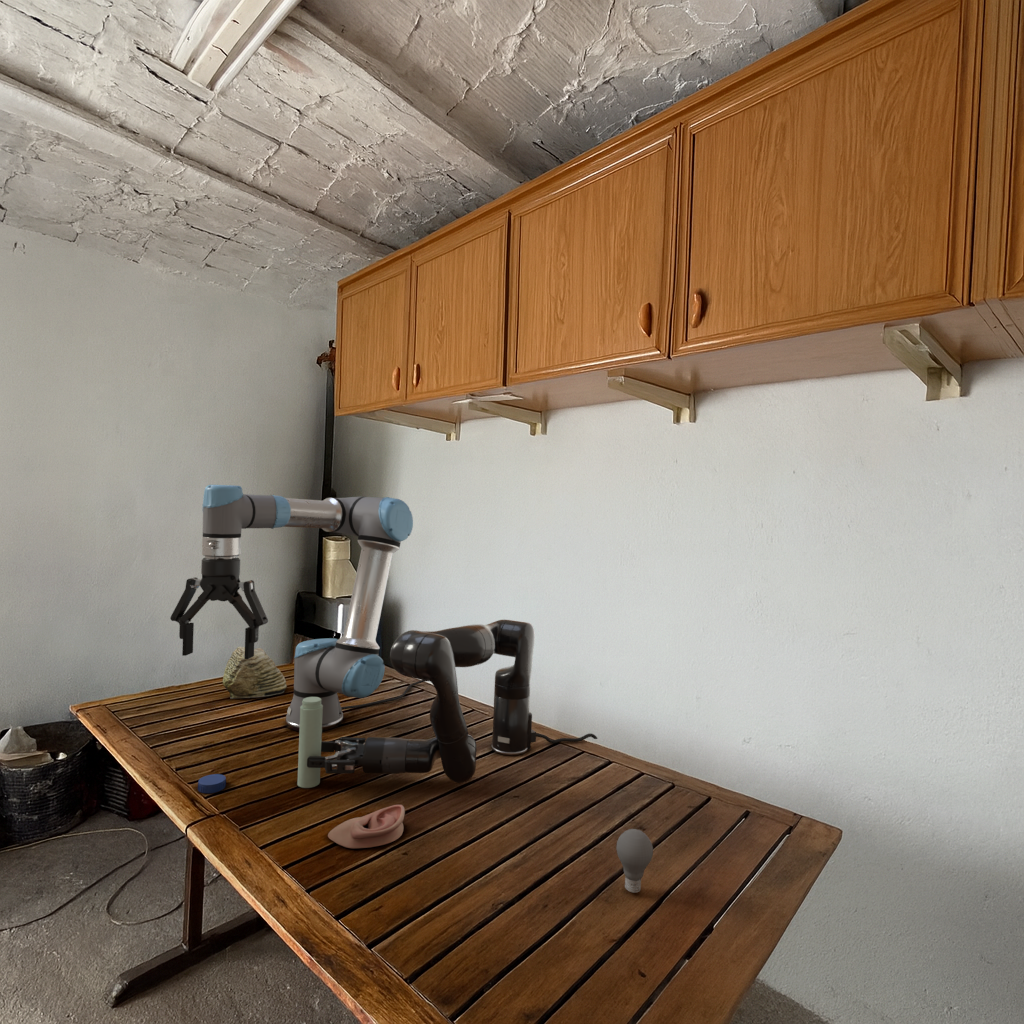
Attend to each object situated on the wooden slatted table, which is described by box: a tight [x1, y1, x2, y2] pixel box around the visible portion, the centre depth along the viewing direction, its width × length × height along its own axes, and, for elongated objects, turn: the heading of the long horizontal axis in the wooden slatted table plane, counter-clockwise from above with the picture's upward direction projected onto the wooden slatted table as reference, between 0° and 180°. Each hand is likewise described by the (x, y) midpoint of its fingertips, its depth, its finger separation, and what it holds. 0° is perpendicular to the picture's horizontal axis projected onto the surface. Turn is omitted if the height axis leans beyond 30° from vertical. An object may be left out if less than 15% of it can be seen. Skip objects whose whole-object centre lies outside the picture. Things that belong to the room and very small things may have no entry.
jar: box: [296, 697, 323, 789], centre depth 140 cm, size 5×5×19 cm
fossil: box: [222, 646, 288, 699], centre depth 198 cm, size 9×18×15 cm, turn 132°
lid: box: [197, 773, 227, 794], centre depth 136 cm, size 5×5×2 cm
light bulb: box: [615, 828, 654, 894], centre depth 106 cm, size 6×6×10 cm
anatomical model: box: [327, 804, 406, 849], centre depth 120 cm, size 13×4×12 cm
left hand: (218, 656), depth 136 cm, fingers open, 13 cm apart
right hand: (312, 753), depth 140 cm, fingers open, 8 cm apart
